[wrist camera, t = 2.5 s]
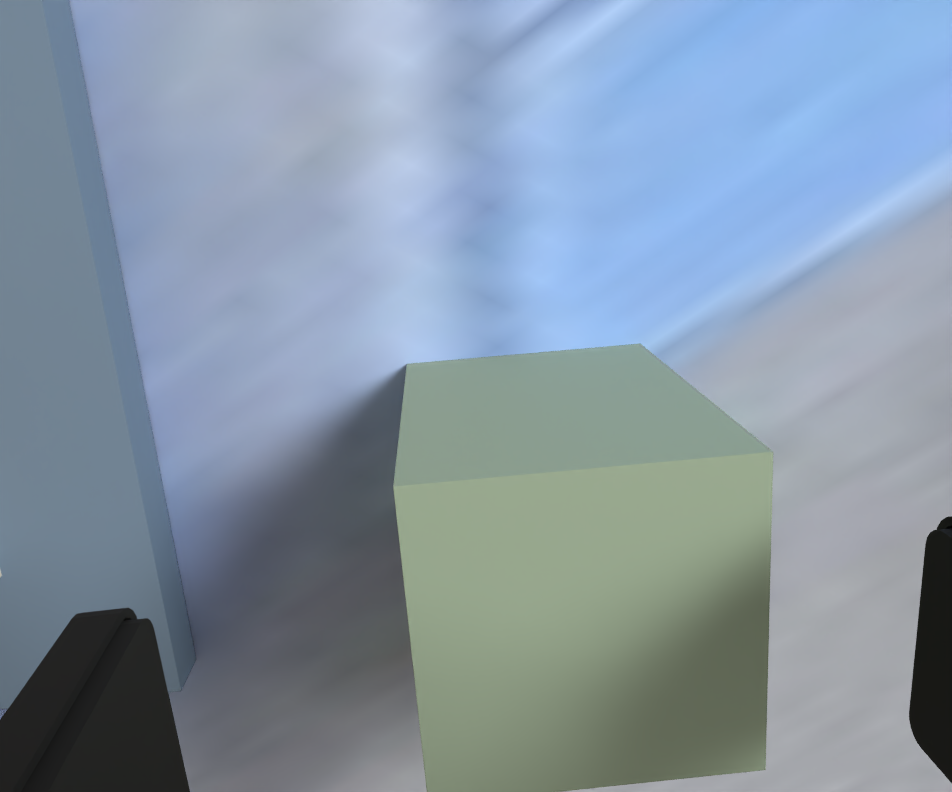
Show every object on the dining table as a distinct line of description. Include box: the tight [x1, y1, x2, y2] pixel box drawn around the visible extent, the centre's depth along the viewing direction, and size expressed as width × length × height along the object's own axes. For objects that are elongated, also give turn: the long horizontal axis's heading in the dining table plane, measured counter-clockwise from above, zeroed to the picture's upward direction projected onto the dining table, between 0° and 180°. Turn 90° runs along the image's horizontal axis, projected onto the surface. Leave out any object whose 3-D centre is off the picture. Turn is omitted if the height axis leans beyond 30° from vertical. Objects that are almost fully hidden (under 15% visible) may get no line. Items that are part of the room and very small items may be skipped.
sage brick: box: [393, 344, 773, 792], centre depth 15 cm, size 5×5×7 cm
